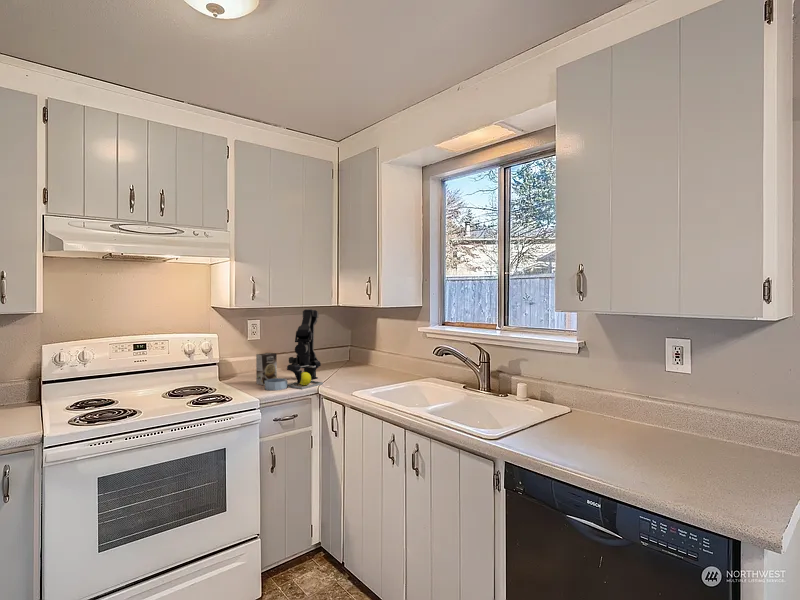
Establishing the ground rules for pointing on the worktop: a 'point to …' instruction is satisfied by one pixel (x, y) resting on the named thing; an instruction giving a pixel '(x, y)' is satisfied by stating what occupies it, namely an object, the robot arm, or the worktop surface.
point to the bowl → (276, 384)
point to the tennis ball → (305, 378)
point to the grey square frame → (304, 386)
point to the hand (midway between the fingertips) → (304, 381)
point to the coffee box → (266, 367)
